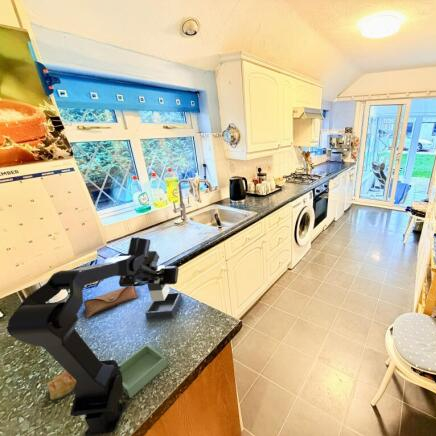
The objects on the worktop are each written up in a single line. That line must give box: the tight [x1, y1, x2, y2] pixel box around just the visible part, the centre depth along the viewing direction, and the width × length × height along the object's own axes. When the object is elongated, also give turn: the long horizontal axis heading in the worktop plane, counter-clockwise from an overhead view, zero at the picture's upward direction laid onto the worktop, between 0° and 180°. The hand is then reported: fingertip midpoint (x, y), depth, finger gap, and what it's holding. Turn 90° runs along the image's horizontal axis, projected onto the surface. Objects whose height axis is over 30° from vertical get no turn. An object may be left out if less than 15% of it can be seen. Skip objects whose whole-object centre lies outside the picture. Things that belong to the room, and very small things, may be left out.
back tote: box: [144, 291, 183, 320], centre depth 96 cm, size 11×10×4 cm
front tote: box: [117, 343, 168, 399], centre depth 71 cm, size 11×10×4 cm
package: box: [146, 265, 171, 302], centre depth 90 cm, size 6×5×12 cm
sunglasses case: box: [83, 284, 139, 318], centre depth 99 cm, size 18×7×7 cm, turn 133°
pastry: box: [46, 370, 76, 401], centre depth 68 cm, size 9×7×4 cm
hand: (159, 280), depth 91 cm, fingers closed on package, 4 cm apart
